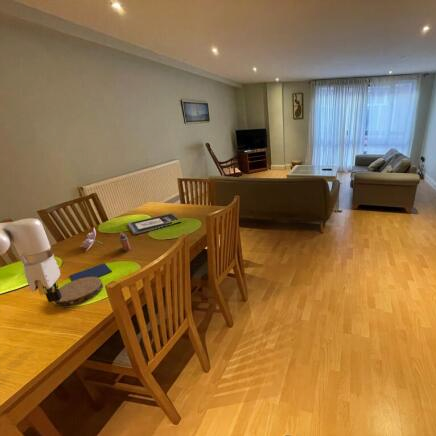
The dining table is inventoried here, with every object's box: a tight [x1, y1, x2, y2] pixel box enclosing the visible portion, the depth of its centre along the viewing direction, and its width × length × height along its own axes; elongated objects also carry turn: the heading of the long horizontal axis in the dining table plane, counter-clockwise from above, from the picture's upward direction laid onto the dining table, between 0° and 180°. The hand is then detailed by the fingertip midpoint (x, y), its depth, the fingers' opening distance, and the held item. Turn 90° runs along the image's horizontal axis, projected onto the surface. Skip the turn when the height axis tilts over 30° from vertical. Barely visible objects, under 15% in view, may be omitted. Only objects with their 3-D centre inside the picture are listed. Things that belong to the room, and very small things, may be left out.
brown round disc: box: [54, 277, 104, 308], centre depth 102 cm, size 16×16×3 cm
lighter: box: [119, 231, 132, 253], centre depth 137 cm, size 8×3×10 cm, turn 45°
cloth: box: [69, 262, 113, 282], centre depth 116 cm, size 14×12×1 cm
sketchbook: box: [126, 213, 179, 235], centre depth 171 cm, size 22×30×2 cm
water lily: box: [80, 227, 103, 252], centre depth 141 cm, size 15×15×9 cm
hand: (55, 299), depth 86 cm, fingers closed
